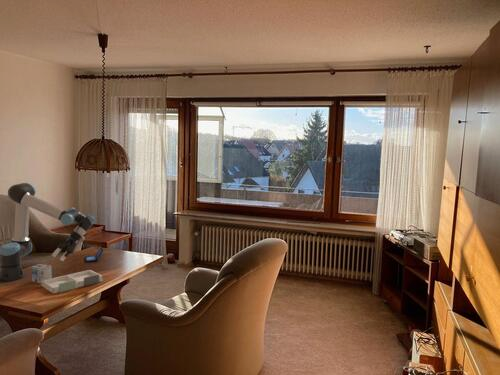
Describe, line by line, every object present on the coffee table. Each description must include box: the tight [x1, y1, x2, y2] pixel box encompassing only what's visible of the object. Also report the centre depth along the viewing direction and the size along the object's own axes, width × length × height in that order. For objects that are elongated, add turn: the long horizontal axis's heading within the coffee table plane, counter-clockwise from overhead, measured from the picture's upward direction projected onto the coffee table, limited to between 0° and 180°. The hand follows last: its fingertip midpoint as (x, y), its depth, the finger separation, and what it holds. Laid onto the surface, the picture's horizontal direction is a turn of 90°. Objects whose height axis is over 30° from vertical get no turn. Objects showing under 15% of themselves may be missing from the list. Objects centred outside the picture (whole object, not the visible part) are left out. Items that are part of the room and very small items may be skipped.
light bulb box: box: [31, 263, 53, 284], centre depth 264 cm, size 11×7×11 cm, turn 73°
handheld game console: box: [84, 246, 104, 264], centre depth 317 cm, size 16×13×9 cm
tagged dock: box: [40, 269, 104, 294], centre depth 261 cm, size 33×20×6 cm, turn 138°
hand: (56, 258), depth 270 cm, fingers open, 13 cm apart
